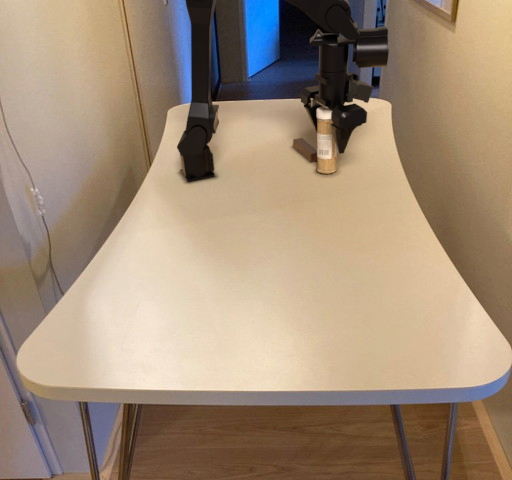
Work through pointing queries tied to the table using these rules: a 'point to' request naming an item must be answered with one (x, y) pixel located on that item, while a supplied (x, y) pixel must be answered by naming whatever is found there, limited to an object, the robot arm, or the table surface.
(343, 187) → the table surface
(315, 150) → the walnut rail
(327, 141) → the spice jar
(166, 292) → the table surface
